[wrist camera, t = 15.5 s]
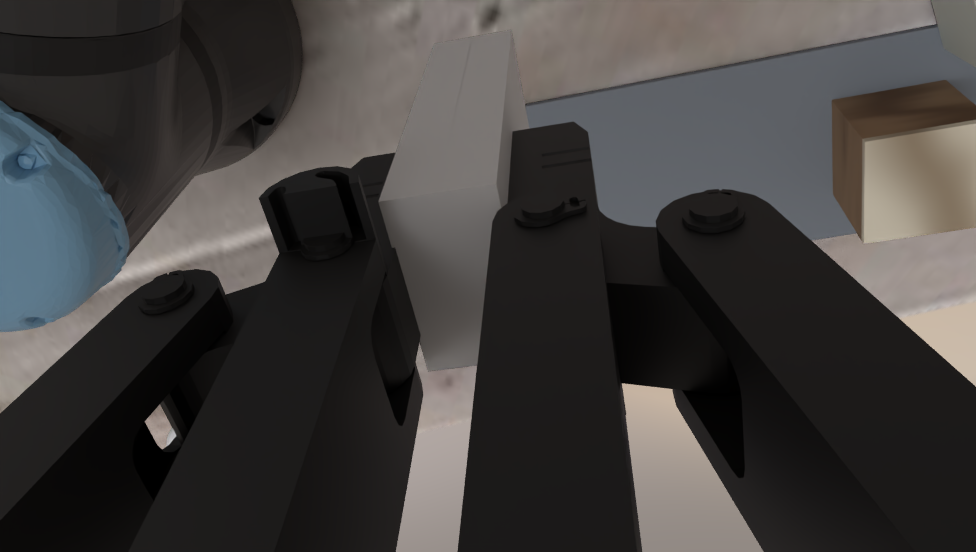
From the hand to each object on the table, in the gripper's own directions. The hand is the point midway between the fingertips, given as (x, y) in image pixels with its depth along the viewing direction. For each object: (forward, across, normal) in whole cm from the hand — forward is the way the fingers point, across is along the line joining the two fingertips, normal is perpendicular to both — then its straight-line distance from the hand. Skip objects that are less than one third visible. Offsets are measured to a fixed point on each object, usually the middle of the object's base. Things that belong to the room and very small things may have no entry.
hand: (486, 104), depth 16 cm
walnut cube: (+24, +18, -17) cm, 35 cm away
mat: (+31, +12, -17) cm, 38 cm away
